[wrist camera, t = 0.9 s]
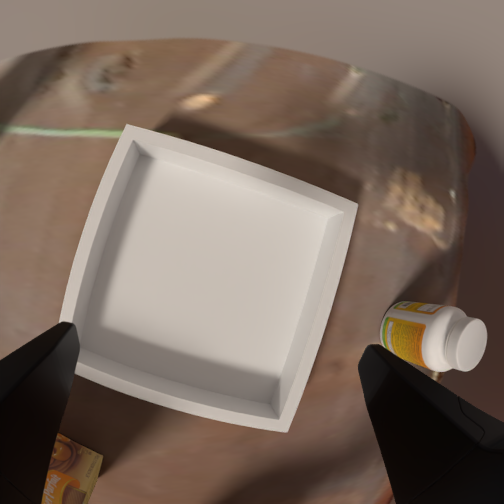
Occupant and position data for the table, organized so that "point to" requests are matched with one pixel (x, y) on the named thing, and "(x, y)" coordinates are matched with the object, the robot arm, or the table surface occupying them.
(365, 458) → the table surface
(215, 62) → the table surface
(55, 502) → the candy box
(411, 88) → the table surface
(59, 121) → the table surface
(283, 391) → the box
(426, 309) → the supplement bottle
